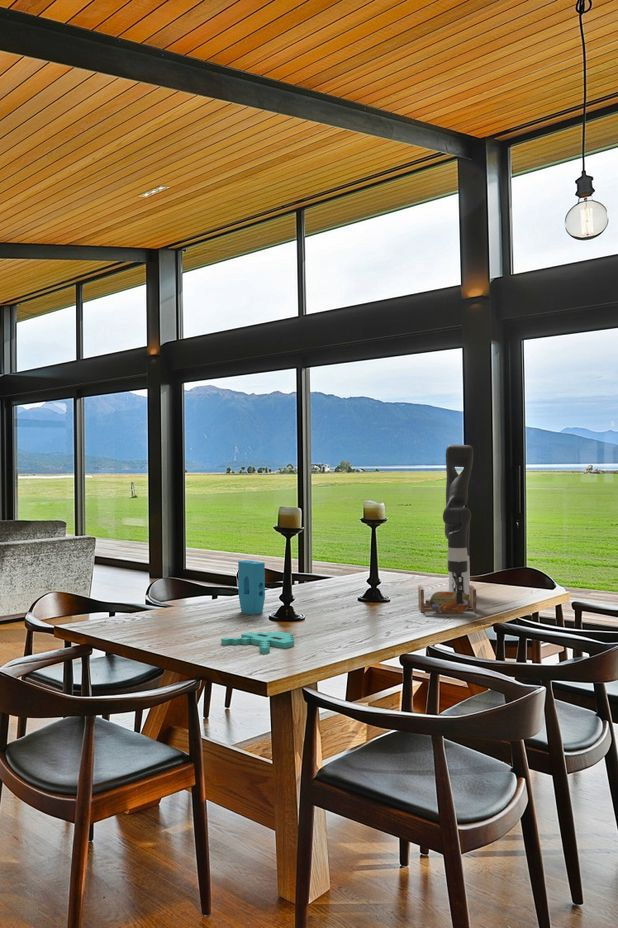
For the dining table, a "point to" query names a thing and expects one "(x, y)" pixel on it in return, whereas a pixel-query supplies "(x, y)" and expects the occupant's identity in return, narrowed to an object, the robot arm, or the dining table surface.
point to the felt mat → (465, 614)
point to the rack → (428, 608)
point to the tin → (448, 603)
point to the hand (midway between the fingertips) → (457, 601)
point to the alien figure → (263, 640)
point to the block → (251, 586)
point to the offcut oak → (427, 602)
